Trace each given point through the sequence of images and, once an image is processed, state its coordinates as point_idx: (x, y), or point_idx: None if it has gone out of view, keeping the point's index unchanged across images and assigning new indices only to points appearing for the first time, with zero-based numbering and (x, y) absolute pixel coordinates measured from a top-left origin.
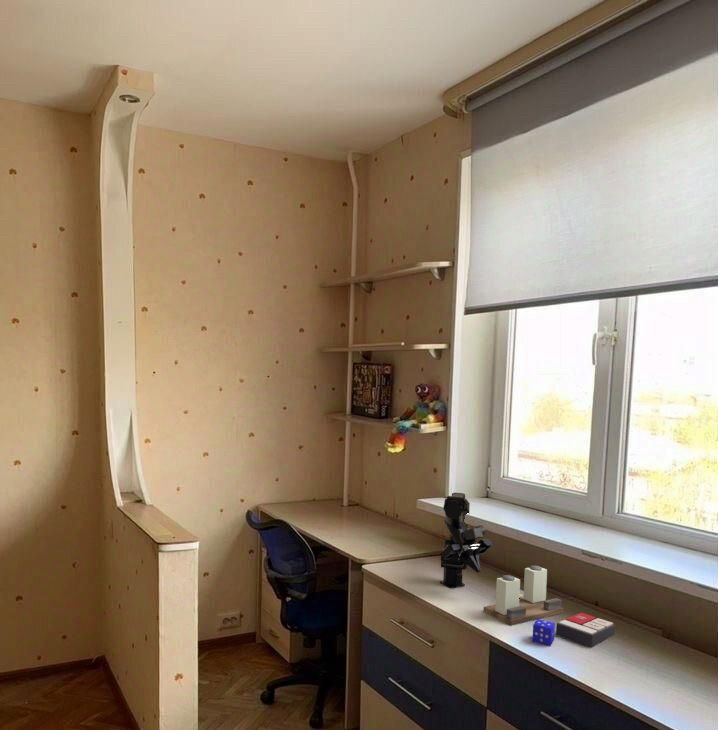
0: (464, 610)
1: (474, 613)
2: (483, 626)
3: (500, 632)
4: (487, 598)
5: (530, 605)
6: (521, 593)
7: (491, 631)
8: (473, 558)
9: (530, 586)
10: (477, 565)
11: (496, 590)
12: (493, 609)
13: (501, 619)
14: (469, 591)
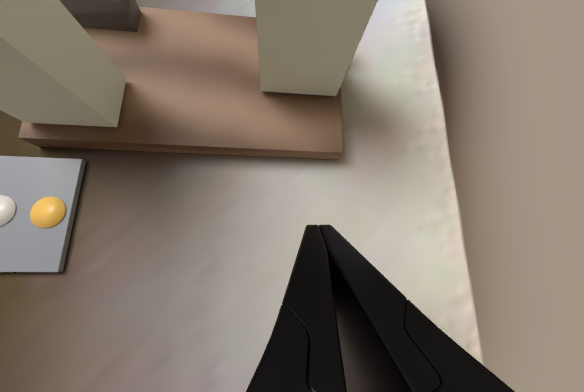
0: (396, 200)
1: (379, 162)
2: (418, 75)
3: (397, 26)
4: (213, 261)
5: (152, 76)
6: (13, 226)
7: (418, 42)
8: (411, 345)
9: (66, 34)
10: (338, 258)
11: (367, 22)
12: (326, 115)
13: None
14: (220, 382)
